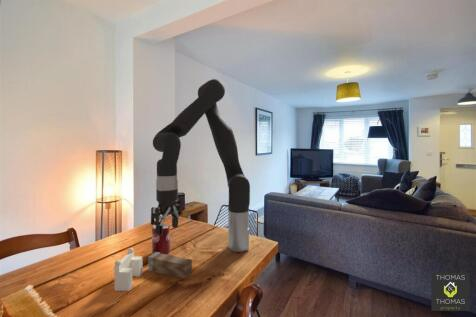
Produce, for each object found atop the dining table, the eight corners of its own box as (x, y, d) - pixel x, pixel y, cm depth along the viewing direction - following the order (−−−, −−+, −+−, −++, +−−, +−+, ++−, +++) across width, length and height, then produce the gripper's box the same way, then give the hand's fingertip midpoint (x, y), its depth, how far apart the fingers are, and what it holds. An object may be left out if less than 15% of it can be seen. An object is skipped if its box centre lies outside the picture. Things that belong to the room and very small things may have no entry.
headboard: (142, 272, 84) (142, 247, 83) (128, 290, 73) (128, 261, 73) (130, 272, 84) (129, 247, 83) (114, 290, 74) (113, 261, 73)
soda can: (153, 259, 94) (152, 230, 93) (151, 251, 100) (150, 224, 100) (171, 255, 97) (171, 227, 96) (168, 248, 104) (167, 222, 103)
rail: (192, 272, 84) (191, 259, 84) (185, 279, 80) (185, 264, 80) (156, 264, 89) (155, 251, 89) (148, 270, 86) (148, 256, 85)
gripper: (171, 184, 92) (171, 223, 93) (144, 190, 79) (145, 236, 80) (187, 185, 89) (187, 226, 90) (162, 192, 76) (162, 240, 77)
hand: (167, 231), depth 85 cm, fingers open, 8 cm apart
